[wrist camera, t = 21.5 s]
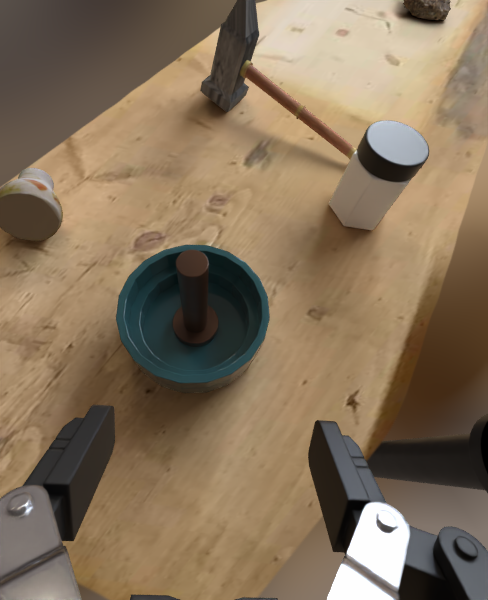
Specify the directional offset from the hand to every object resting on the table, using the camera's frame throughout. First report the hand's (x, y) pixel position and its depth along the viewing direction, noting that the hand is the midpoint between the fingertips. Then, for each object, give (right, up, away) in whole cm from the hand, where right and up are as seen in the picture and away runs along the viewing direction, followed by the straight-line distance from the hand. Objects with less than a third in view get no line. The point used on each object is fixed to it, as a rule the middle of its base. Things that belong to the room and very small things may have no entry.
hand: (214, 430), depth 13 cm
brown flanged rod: (-5, +2, +26) cm, 26 cm away
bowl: (-5, +2, +26) cm, 27 cm away
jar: (+18, +19, +38) cm, 46 cm away
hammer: (+8, +34, +44) cm, 56 cm away
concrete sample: (+45, +76, +68) cm, 112 cm away
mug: (-26, +17, +31) cm, 44 cm away
